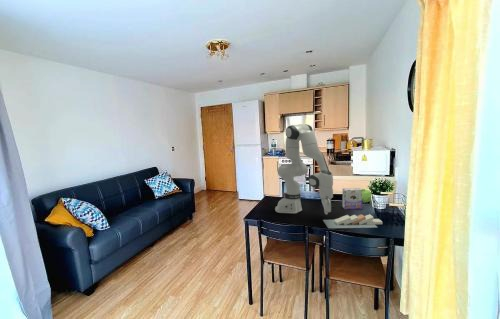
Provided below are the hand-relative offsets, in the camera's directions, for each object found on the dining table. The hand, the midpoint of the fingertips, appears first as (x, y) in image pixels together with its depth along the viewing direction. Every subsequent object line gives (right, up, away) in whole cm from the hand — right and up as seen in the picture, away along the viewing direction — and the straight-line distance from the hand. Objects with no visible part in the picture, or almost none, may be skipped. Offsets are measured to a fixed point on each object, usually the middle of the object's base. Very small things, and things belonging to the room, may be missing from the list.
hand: (326, 213), depth 154 cm
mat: (+16, -7, 0) cm, 17 cm away
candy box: (+32, -3, +29) cm, 43 cm away
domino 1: (+7, -6, 0) cm, 9 cm away
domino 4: (+22, -6, -1) cm, 22 cm away
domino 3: (+17, -6, -1) cm, 18 cm away
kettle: (+48, 0, +44) cm, 66 cm away
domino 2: (+12, -6, 0) cm, 13 cm away
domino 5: (+27, -5, -1) cm, 27 cm away
